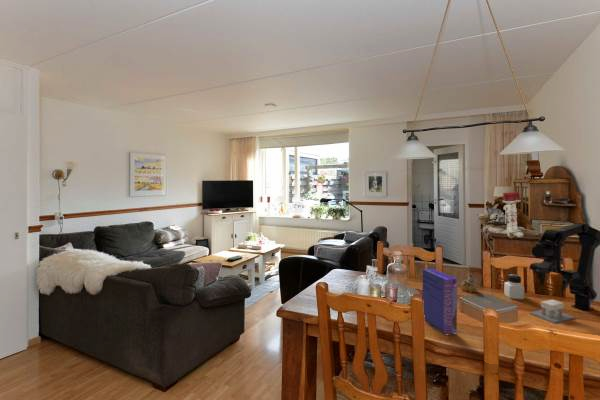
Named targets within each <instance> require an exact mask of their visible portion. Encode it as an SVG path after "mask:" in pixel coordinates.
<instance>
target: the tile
mask: <svg viewBox="0 0 600 400" xmlns="http://www.w3.org/2000/svg"><path fill="white" fill-rule="evenodd" d="M529 314H530V315H532V316H534V317H538V318H540V319H543V320H546V321H548V322H551V323H553V324H557V323H561V322H565V321H569V320H573V319H574V320H575V319H576V317H575V316H573V315H570V314H568V313H564V312H562V316H560V315H559V310H555V313H553V318H551V317H549V310H548V309H545V315H543V314H542V309H539V310H534V311H530V312H529Z"/></svg>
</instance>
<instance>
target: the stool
mask: <svg viewBox="0 0 600 400" xmlns="http://www.w3.org/2000/svg"><path fill="white" fill-rule="evenodd" d="M540 307H541V310H542V314H543V315H545V309H548V310H549V317H551V318H553V313H555V310H556V311H559V315H560V316H562V313H563V310H564V307H565V303H564V302H561V301H558V300H555V299H547V300H542V301H540Z"/></svg>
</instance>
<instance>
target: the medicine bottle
mask: <svg viewBox="0 0 600 400" xmlns="http://www.w3.org/2000/svg"><path fill="white" fill-rule="evenodd" d="M503 286H504V287H503V288H504V289H503V290H504V295H505V296H506V297H507V298H508V299H511V300H525V286H523V285H522V277H521V276H520V275H516V274H508V275H507V281H504V285H503Z"/></svg>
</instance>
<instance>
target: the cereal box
mask: <svg viewBox="0 0 600 400" xmlns="http://www.w3.org/2000/svg"><path fill="white" fill-rule="evenodd" d="M423 300H424V315H425V320H424V321H426V322H427V323H428V324H430V325H431V324H432V325H431V326H433V327H434V326H435V327H434V328H435V329H437V328H438V329H439V330H438V329H437V330H438V331H440V330H441V331H442V334H444V333H445V334H454V333H457V329H458V328H457V327H458V325H457V322H458V319H457V318H458V315H457V314H458V278H456V277H453V276H451V275H448V274H447V273H444V272H442V271H439V270H437V269H434V268H432V267H431V268H429V267H427V268H422V301H423ZM441 331H440V332H441ZM445 334H444V335H445ZM454 335H455V334H454Z"/></svg>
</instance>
